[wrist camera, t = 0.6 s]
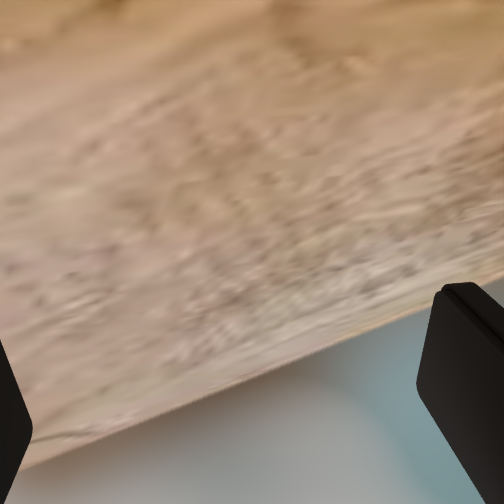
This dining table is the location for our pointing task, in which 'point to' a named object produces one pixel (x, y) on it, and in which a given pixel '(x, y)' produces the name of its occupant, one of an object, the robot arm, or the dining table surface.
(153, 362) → the dining table surface
